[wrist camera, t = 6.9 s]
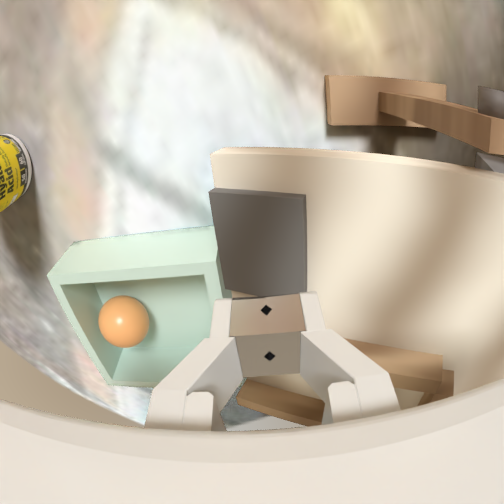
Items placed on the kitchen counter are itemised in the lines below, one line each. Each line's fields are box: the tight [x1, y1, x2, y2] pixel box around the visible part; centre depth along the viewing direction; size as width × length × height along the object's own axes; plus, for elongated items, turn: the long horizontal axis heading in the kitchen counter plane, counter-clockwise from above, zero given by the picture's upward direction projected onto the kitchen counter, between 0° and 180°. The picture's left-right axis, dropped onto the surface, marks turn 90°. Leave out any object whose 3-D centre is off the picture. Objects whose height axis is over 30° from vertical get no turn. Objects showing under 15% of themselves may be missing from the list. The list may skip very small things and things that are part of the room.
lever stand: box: [325, 75, 504, 155], centre depth 17 cm, size 8×22×11 cm, turn 6°
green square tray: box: [47, 226, 241, 388], centre depth 22 cm, size 12×12×4 cm
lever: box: [209, 147, 504, 426], centre depth 15 cm, size 17×16×9 cm
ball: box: [98, 295, 149, 348], centre depth 22 cm, size 4×4×4 cm
